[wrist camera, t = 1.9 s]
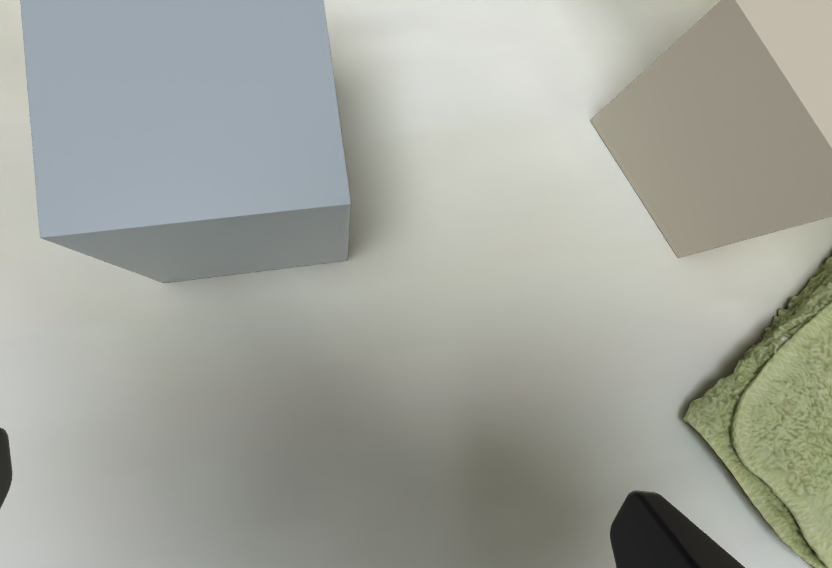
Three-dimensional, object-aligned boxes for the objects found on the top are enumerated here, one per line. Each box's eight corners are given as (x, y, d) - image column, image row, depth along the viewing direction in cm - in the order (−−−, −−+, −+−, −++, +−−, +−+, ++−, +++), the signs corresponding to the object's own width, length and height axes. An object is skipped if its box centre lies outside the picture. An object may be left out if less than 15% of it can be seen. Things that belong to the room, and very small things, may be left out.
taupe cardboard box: (678, 258, 23) (869, 206, 15) (590, 120, 24) (730, -8, 15) (804, 173, 25) (1048, 81, 16) (719, 43, 25) (916, -117, 16)
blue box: (347, 260, 22) (351, 204, 13) (163, 283, 21) (40, 237, 12) (323, 82, 22) (312, -82, 14) (144, 96, 21) (13, -70, 13)
